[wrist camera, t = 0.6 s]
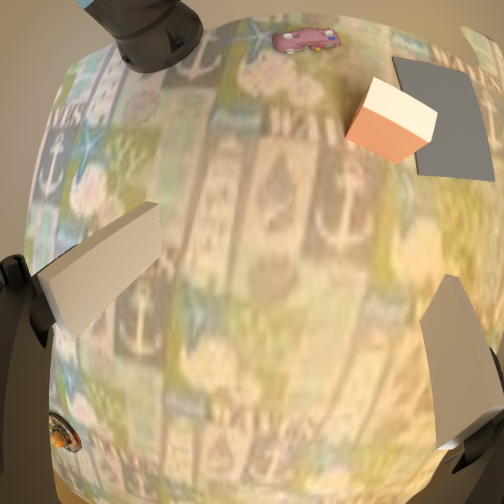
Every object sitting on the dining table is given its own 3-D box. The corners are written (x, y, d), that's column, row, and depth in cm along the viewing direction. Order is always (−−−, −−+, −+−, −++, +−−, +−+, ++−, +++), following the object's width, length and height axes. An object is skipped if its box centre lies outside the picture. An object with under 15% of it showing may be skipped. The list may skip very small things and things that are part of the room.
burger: (42, 407, 47) (25, 419, 39) (71, 418, 45) (52, 433, 38) (59, 442, 47) (44, 455, 40) (89, 454, 46) (74, 470, 38)
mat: (391, 58, 32) (392, 57, 31) (466, 75, 30) (468, 74, 29) (417, 175, 33) (419, 174, 32) (493, 181, 31) (495, 181, 30)
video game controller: (276, 60, 36) (278, 52, 30) (270, 36, 34) (271, 24, 28) (336, 54, 35) (348, 46, 29) (330, 30, 32) (340, 19, 26)
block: (396, 164, 33) (431, 141, 22) (345, 138, 34) (363, 103, 23) (403, 141, 33) (437, 112, 22) (354, 115, 34) (373, 76, 23)
